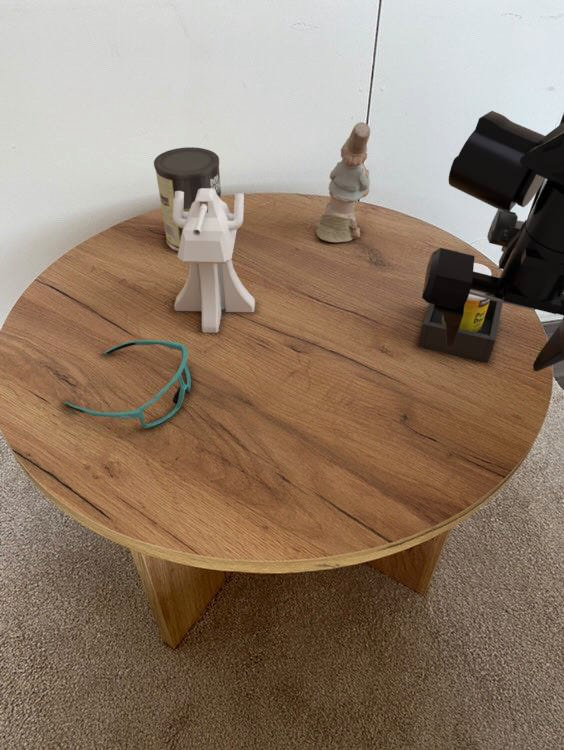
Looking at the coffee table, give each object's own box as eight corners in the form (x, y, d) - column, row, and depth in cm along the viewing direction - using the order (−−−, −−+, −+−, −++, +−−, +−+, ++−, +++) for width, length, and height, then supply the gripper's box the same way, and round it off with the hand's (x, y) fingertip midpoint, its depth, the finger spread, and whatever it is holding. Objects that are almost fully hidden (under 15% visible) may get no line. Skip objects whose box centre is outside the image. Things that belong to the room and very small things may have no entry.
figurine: (357, 249, 99) (370, 131, 85) (310, 241, 101) (314, 124, 87) (368, 224, 105) (381, 109, 91) (323, 216, 107) (329, 103, 93)
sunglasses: (166, 443, 69) (156, 414, 65) (60, 423, 73) (45, 395, 70) (211, 365, 78) (204, 336, 75) (115, 352, 83) (104, 324, 79)
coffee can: (235, 231, 104) (230, 153, 94) (206, 260, 97) (197, 179, 87) (186, 218, 107) (176, 142, 97) (154, 245, 100) (140, 166, 90)
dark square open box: (496, 321, 85) (503, 299, 82) (488, 362, 79) (495, 340, 76) (430, 306, 88) (435, 284, 85) (417, 345, 81) (422, 323, 79)
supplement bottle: (470, 349, 80) (488, 288, 73) (433, 334, 82) (447, 273, 75) (485, 328, 83) (504, 267, 76) (448, 314, 86) (463, 254, 78)
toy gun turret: (167, 336, 83) (146, 223, 70) (182, 282, 92) (166, 173, 80) (251, 338, 82) (245, 224, 70) (257, 283, 92) (253, 175, 79)
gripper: (655, 210, 54) (575, 329, 66) (457, 165, 56) (414, 288, 68) (676, 282, 47) (582, 402, 59) (448, 227, 49) (401, 353, 61)
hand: (491, 356), depth 62 cm, fingers open, 9 cm apart
